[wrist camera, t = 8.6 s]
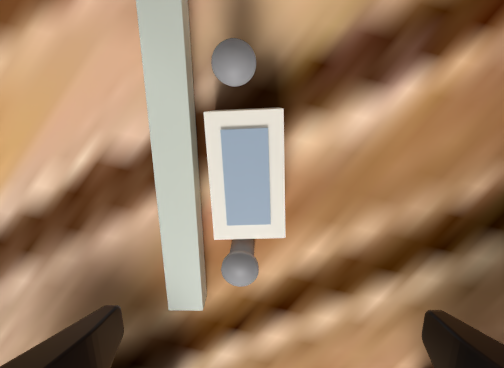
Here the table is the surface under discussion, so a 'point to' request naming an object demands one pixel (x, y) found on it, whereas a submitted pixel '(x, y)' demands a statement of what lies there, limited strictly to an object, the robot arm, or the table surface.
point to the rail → (185, 148)
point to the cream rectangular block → (246, 172)
